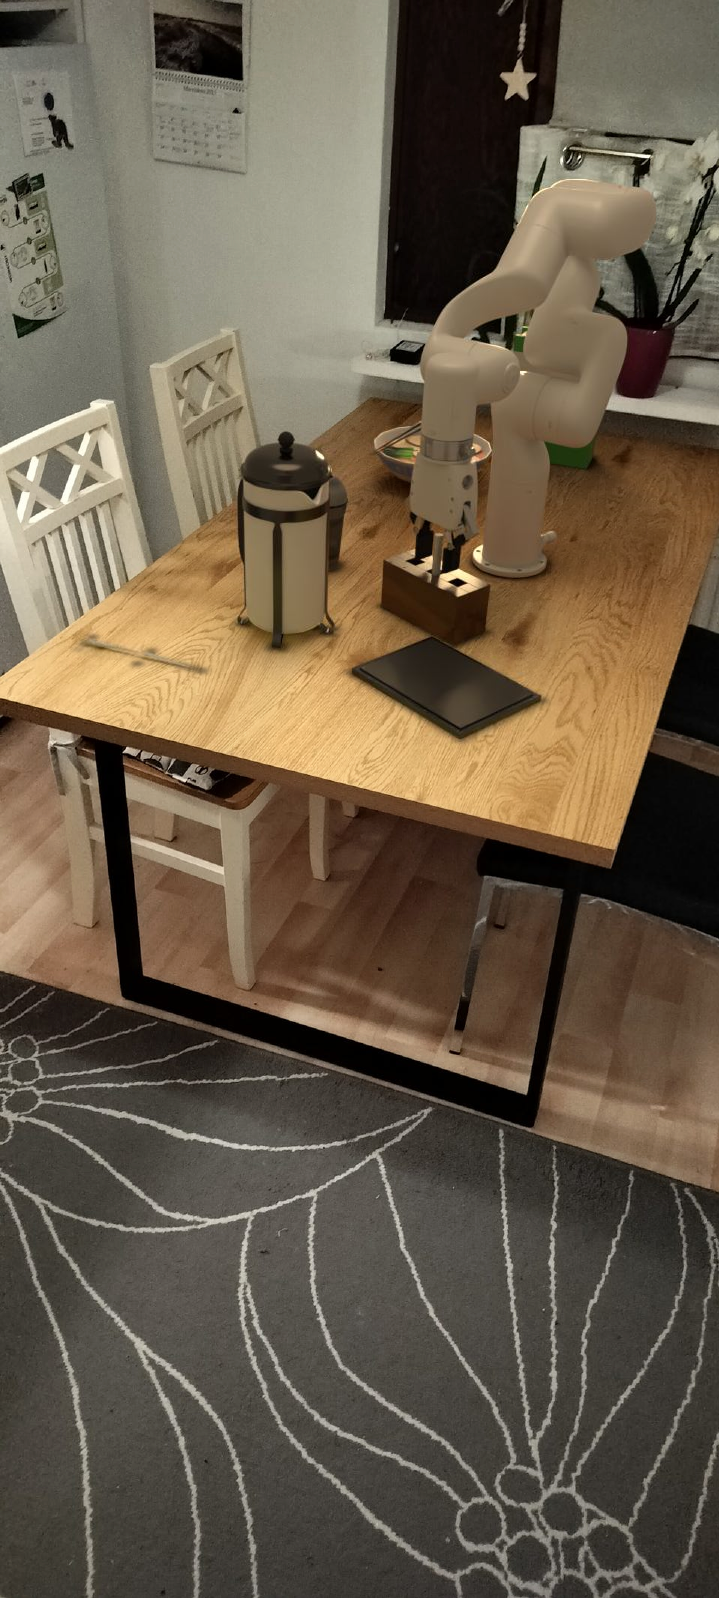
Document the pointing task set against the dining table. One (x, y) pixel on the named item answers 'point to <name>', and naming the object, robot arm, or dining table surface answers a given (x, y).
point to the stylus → (99, 643)
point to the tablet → (446, 686)
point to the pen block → (435, 597)
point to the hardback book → (555, 452)
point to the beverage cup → (336, 518)
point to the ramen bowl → (414, 450)
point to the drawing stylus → (437, 554)
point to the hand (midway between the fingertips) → (436, 562)
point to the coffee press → (285, 537)
